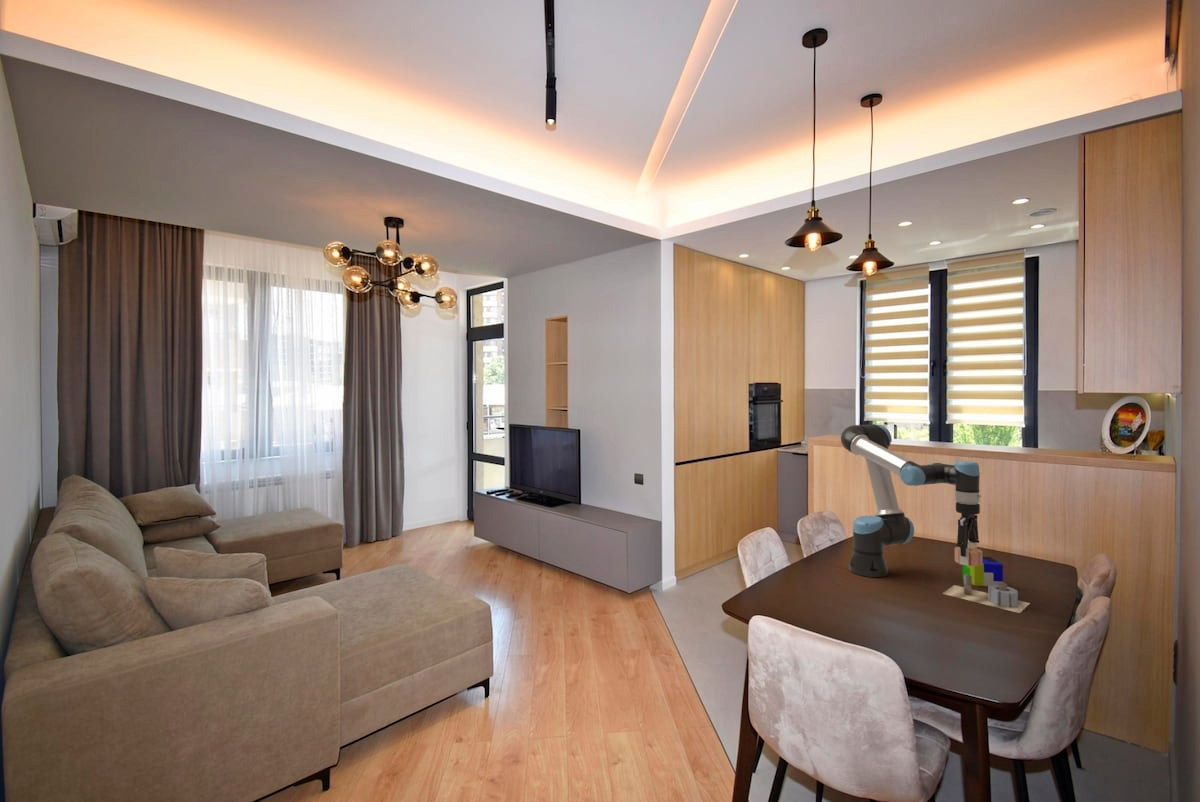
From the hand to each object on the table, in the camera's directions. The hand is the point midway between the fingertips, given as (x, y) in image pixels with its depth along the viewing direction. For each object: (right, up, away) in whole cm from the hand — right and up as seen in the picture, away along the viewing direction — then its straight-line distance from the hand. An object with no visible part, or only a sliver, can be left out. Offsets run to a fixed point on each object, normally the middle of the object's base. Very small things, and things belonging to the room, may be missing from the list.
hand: (968, 561), depth 204 cm
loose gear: (0, 0, 0) cm, 0 cm away
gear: (+7, -12, -8) cm, 16 cm away
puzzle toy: (+15, -13, +13) cm, 24 cm away
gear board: (+4, -14, -4) cm, 15 cm away
